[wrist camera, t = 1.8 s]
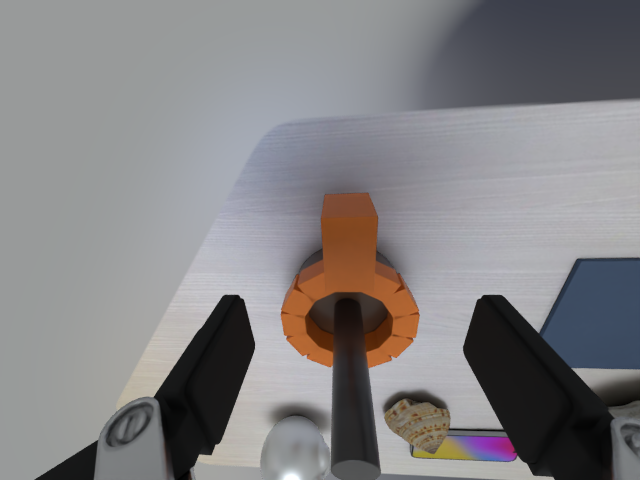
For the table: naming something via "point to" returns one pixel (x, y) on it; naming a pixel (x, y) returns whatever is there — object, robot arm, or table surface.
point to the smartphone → (472, 447)
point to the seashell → (419, 424)
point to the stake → (351, 377)
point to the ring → (349, 284)
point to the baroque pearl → (295, 451)
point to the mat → (598, 315)
